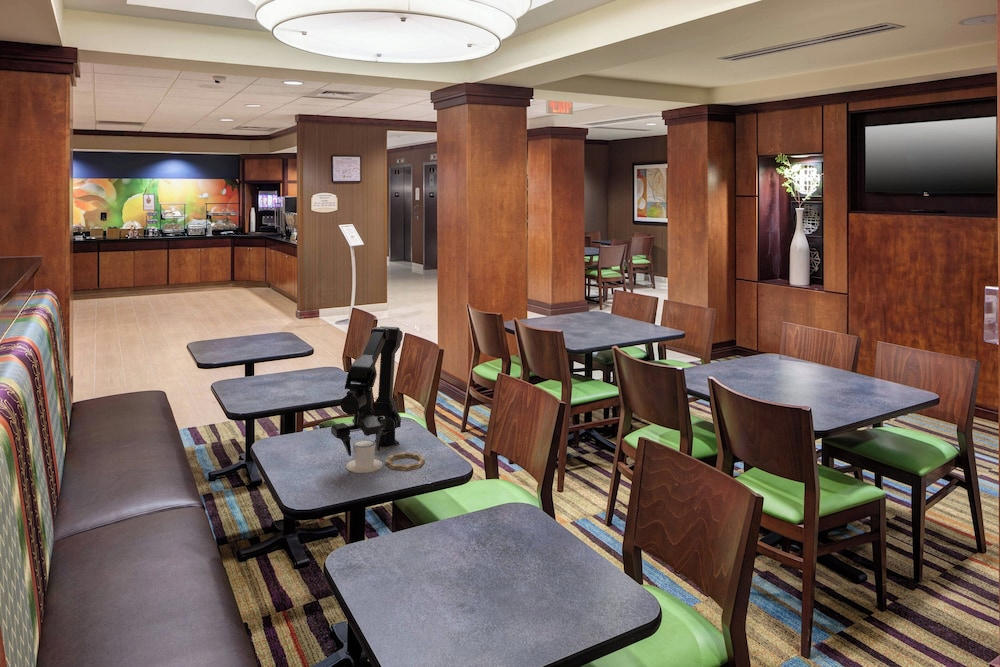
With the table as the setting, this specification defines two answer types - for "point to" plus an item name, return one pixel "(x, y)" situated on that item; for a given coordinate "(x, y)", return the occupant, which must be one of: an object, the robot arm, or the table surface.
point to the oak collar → (405, 467)
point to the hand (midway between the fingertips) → (364, 453)
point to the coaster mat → (353, 468)
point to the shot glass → (364, 453)
